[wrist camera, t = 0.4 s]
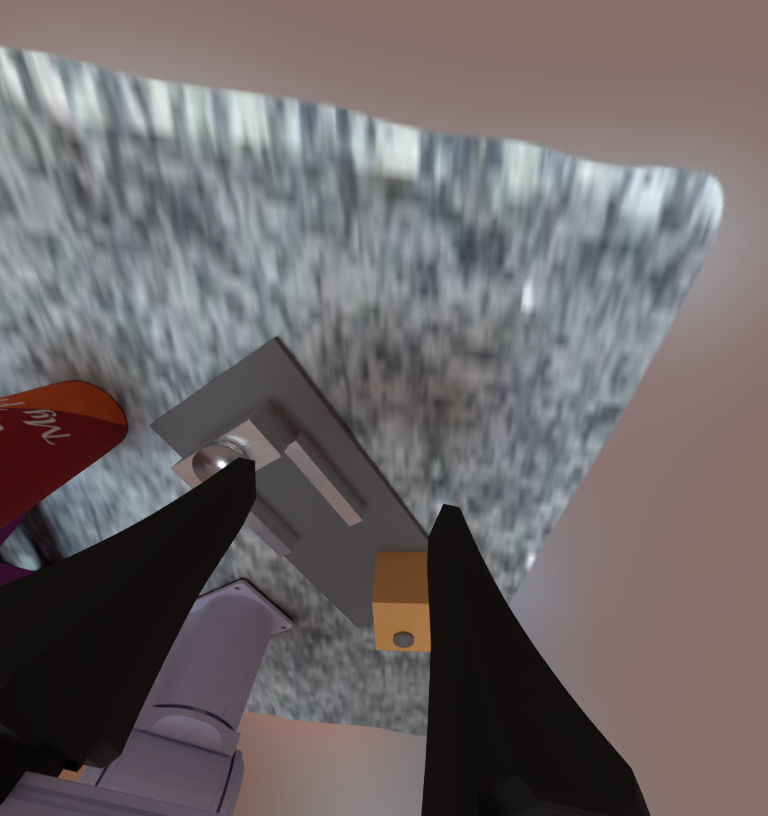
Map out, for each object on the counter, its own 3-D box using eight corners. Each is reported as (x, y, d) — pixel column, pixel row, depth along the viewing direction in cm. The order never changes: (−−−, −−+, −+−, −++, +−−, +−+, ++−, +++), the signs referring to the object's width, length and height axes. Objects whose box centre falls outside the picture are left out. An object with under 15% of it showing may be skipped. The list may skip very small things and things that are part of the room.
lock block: (379, 596, 29) (375, 654, 24) (376, 551, 26) (371, 606, 22) (427, 597, 28) (432, 656, 24) (428, 552, 26) (434, 608, 22)
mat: (358, 621, 31) (357, 627, 31) (155, 421, 23) (149, 425, 22) (464, 584, 28) (465, 591, 28) (277, 336, 19) (273, 338, 19)
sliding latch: (287, 541, 26) (270, 582, 23) (192, 446, 23) (154, 478, 19) (365, 505, 24) (359, 545, 21) (274, 394, 20) (248, 420, 17)
